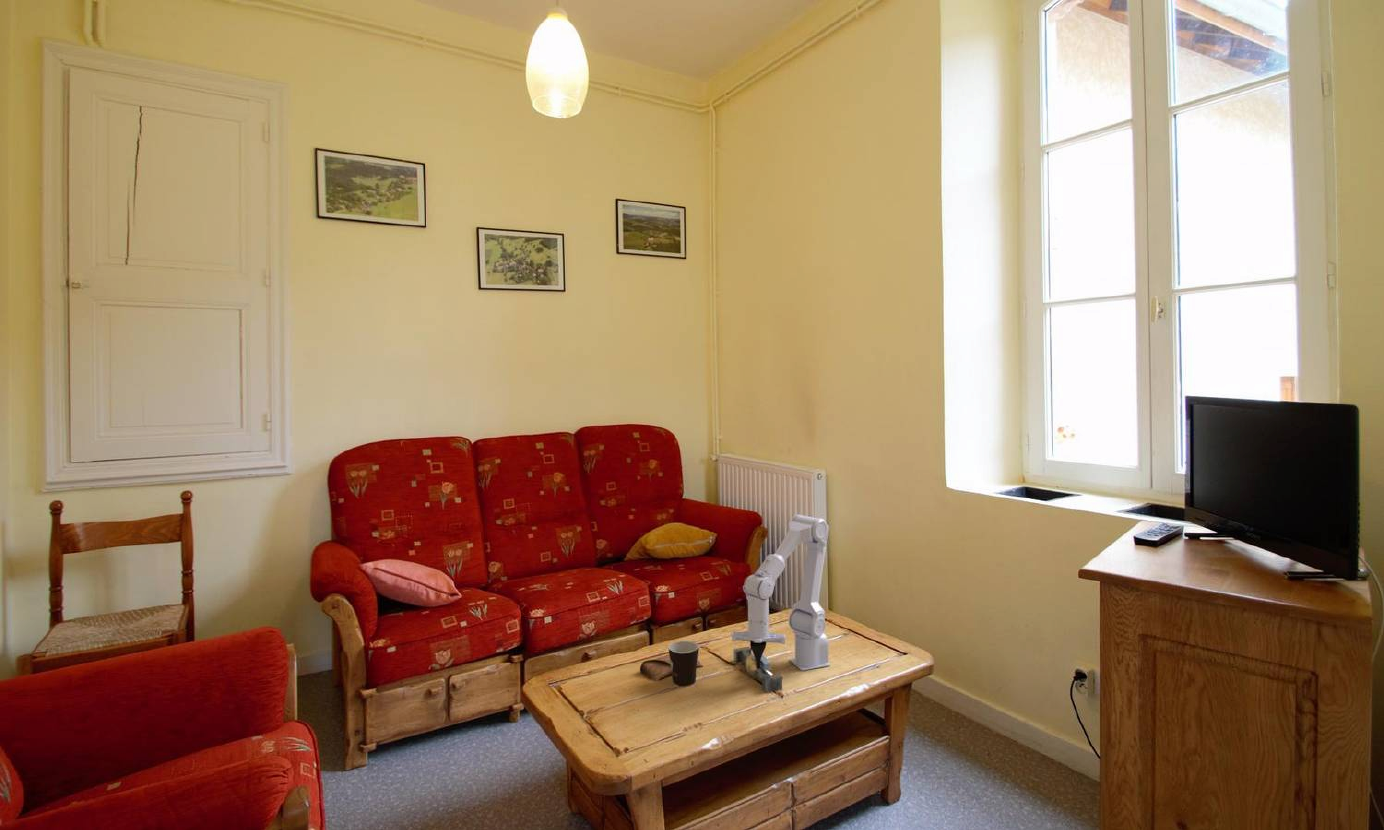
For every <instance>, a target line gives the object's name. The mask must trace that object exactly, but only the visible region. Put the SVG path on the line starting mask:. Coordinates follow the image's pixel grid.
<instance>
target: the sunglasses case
mask: <svg viewBox="0 0 1384 830" xmlns="http://www.w3.org/2000/svg"><path fill="white" fill-rule="evenodd" d="M702 667H704V665H703V664H702V663H700V661H699V660H698V661H697V669H698V668H702ZM639 672H640V674H641V675H643V676H644V677H646V678H648V679H650V680H652V681H654V682H655V683H657V682H660V681H663V680H665V679H669V678H672V671H671V663H670V656H669V654H667V655H664V656H659V657H657V658H654V659H649V660H645V661H643V662H642V663H641V664H640V665H639Z"/></svg>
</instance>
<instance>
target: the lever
mask: <svg viewBox="0 0 1384 830" xmlns="http://www.w3.org/2000/svg"><path fill="white" fill-rule="evenodd" d="M765 657H766V656H764V655H763V654H762V657H761V660H760V661H761V664H760V666H761V667H762V668H763V669H764V670H768V671H770V670H771V669H772V668H771V662H770V661H769V660H768V658H767V657H766V658H767V659H766V658H765ZM751 659H752V660H755V661H756V659H755V656H754V654H753V652H751Z"/></svg>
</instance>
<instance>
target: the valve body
mask: <svg viewBox="0 0 1384 830" xmlns="http://www.w3.org/2000/svg"><path fill="white" fill-rule="evenodd" d="M751 654H752V650H751V647H749V646H746V647H739V648H733V662H734V663H735V664H742V665H744V667H745V671H746V674H745V675H746V677H748V678H749V679H753V680H759V681H760V683H762V685H761V687H762V689H761V690H762V691H763V692H764V693H767V694H768V693H774V692H776V691H777V692H778V691H783V676H782V675H780V674H779V673H775V674H773V673H772V672H771V671H770V670H764V669H763V668H762V667H761V666H760V669H757V662H756V661H755V660H752V659H751ZM764 657H765V658H766V659H767V660H768V658H767V657H766V656H764Z"/></svg>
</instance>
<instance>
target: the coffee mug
mask: <svg viewBox="0 0 1384 830" xmlns="http://www.w3.org/2000/svg"><path fill="white" fill-rule="evenodd" d="M667 647H668V648H667V649H668V655H669V656H670V663H671V671H672V676H671V678H672V683H673V684H674V685H675V686H677V687H683V688H684V687H690V686H693V685H695V683H696V680H697V670H698V668H697V661H699V660H698V658H699V650H700V649H699V648H700V646H699V644H698V643H696V642H694V641H691V640H677V641H674V642H671V643H670V644H669V645H668V646H667Z"/></svg>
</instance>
